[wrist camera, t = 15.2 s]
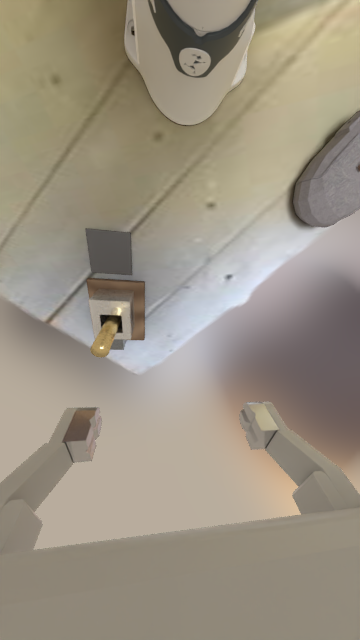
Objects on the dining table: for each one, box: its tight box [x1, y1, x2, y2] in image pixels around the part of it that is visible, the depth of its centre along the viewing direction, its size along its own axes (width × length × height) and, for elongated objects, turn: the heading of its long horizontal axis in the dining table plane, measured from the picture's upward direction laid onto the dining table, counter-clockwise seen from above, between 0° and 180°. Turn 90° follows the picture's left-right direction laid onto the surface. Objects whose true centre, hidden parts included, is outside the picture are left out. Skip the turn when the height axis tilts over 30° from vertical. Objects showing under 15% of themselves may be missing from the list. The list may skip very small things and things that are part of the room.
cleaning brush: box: [293, 111, 360, 227], centre depth 33 cm, size 15×8×20 cm
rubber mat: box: [86, 228, 132, 275], centre depth 39 cm, size 9×9×1 cm
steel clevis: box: [89, 289, 135, 350], centre depth 42 cm, size 14×8×7 cm, turn 175°
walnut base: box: [87, 278, 145, 340], centre depth 45 cm, size 16×13×2 cm
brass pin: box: [91, 315, 122, 357], centre depth 37 cm, size 3×3×16 cm
